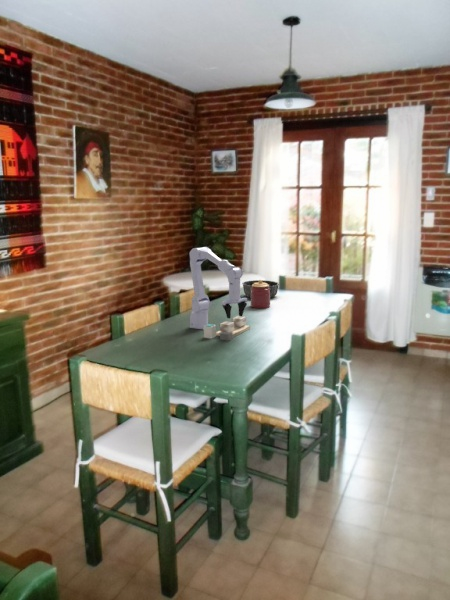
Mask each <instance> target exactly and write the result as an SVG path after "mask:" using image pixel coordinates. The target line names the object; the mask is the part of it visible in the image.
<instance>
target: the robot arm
mask: <svg viewBox="0 0 450 600" xmlns="http://www.w3.org/2000/svg"><path fill="white" fill-rule="evenodd" d="M188 255H189V266H190V273H191V280H192V285H193V291H194V293H193V294H194V295H193V297H192V298H191V304H190V305H191V309H192V311H191V312H190V314H189V325H190V326H189V328H191V329H197V330H204V326H206V325H208V324H209V314H208V313H209V310H210V308H211V301H210V299H209V295H207V294H206V292H205V288H204V287H205V285H204V279H203V274H202V273H203V271H202V264H203V262H204V261H206V260H209V261H210V262H212V263H213V264H215V265H216V266H217V269H218V270H219V271H221V272H222V273H223V274H225V275H226V277H227V280H228V299H224V300H222V301H221V305H222V307H223V309H224V310H223V311H224V312H225V315H226V318H227V319H231V317H232V316H231V312H232V305H233V304H237V307H238V316H242V317H243V314H244V312H245V309H246V307H247V304H248V298H247V297H241V278H242V277H243V274H244V273H243V270H242V268H241V267H239V266H235V265H233V264H232V263H230V262H229V260H227V259H222V258H220V257H218V256H217V255H216V254H215V253H214V252H213V251H212V249H211V248H209V247H208V246H203V247H194V248H192V249H191V250H190V251H189V254H188Z"/></svg>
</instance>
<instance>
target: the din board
mask: <svg viewBox="0 0 450 600" xmlns="http://www.w3.org/2000/svg"><path fill="white" fill-rule="evenodd" d="M246 317H247V316H243V315H242V316H239V315H236V316H234V317H233V318H231V321H223V322H222V323H219V329H220V330H218V331H216V336H218V337H220V333H221V332H223V331H225V332H232V339H233V338H235V337H237V336H239V335H240V334H242V333H244V332H246V331H248V330H250V329H251V326H250V325H246V324H247V318H246Z"/></svg>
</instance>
